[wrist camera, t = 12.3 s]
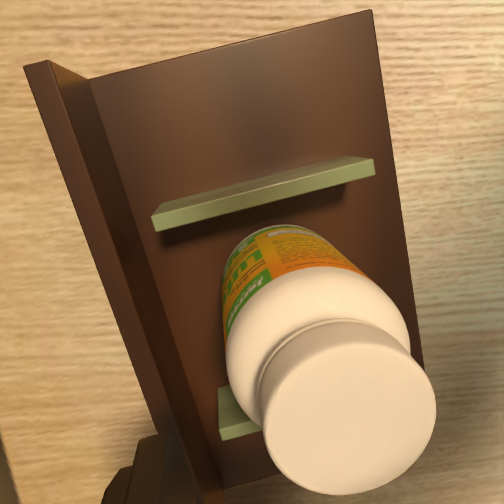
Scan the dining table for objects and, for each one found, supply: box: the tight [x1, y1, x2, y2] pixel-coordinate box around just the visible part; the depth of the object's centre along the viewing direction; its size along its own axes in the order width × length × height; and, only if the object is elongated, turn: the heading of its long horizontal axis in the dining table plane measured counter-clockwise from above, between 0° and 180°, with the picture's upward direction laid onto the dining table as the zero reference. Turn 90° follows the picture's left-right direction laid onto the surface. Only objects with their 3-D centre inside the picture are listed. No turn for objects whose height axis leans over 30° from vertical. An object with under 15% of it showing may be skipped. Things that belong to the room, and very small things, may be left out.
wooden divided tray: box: [23, 9, 425, 504], centre depth 19 cm, size 12×20×9 cm, turn 14°
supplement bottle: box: [221, 225, 436, 495], centre depth 14 cm, size 5×5×10 cm
